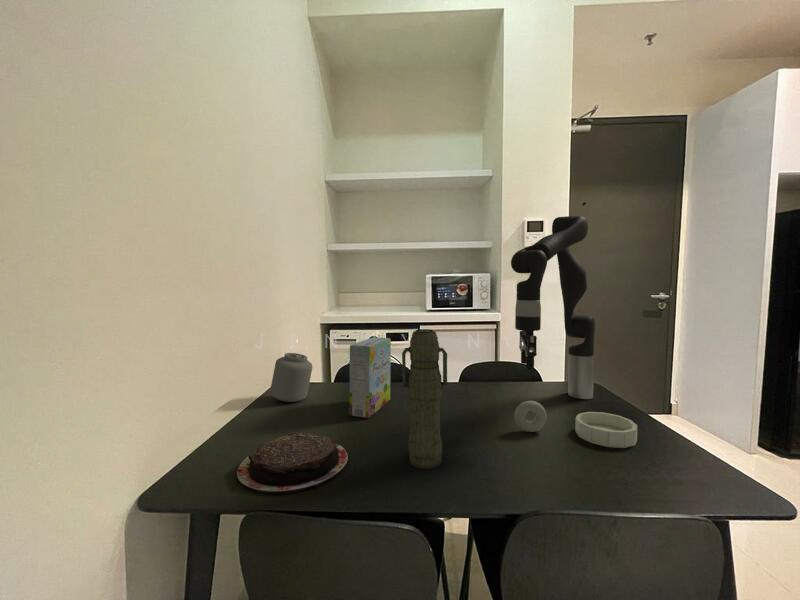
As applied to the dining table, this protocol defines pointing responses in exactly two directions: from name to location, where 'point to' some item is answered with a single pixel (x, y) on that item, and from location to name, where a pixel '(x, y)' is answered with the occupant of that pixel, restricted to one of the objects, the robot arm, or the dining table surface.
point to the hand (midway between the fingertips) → (527, 366)
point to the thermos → (424, 398)
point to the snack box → (369, 376)
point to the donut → (534, 424)
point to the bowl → (606, 429)
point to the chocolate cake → (292, 463)
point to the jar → (291, 377)
